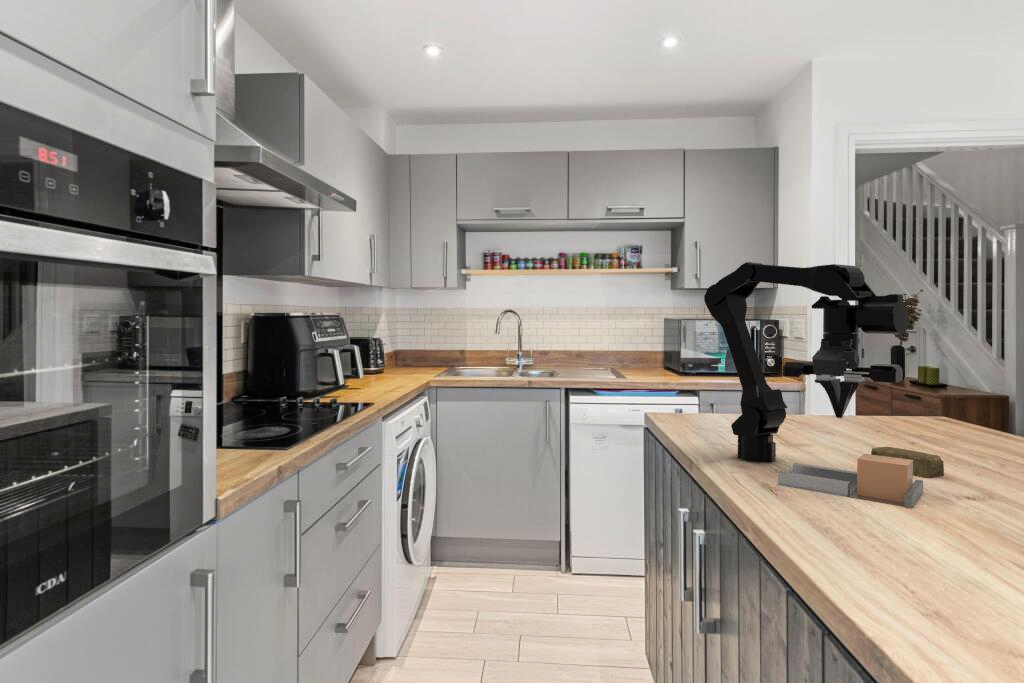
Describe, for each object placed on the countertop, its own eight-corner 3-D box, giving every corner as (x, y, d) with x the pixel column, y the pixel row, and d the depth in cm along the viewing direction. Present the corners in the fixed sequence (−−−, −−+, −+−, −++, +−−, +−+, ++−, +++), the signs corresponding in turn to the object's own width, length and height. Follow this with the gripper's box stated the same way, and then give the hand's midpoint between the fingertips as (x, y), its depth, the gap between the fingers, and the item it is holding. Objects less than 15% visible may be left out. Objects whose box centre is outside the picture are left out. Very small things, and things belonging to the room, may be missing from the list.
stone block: (929, 485, 108) (929, 458, 108) (866, 471, 118) (866, 446, 118) (946, 481, 111) (946, 454, 111) (883, 468, 121) (883, 443, 121)
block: (857, 494, 99) (857, 458, 99) (864, 488, 103) (864, 453, 102) (906, 503, 94) (907, 465, 94) (912, 496, 98) (913, 459, 98)
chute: (776, 490, 105) (776, 473, 105) (796, 477, 113) (796, 462, 113) (911, 514, 92) (912, 495, 91) (922, 498, 100) (923, 480, 100)
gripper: (771, 333, 110) (771, 417, 111) (888, 334, 97) (886, 430, 97) (793, 332, 118) (792, 410, 119) (904, 333, 105) (902, 421, 105)
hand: (839, 417), depth 110 cm, fingers closed
